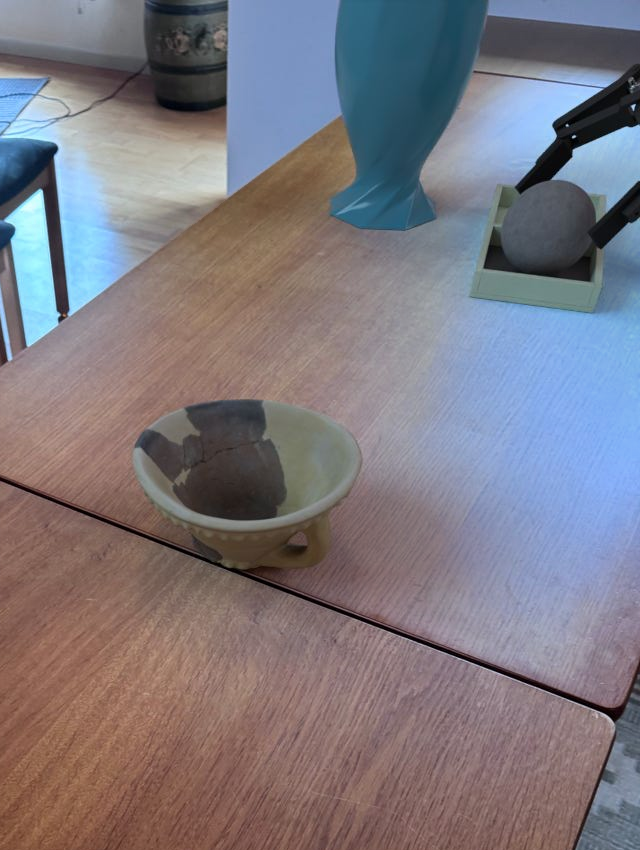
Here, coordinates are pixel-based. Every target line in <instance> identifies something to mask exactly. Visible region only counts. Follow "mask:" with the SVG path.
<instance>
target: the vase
mask: <svg viewBox="0 0 640 850" xmlns="http://www.w3.org/2000/svg"><path fill="white" fill-rule="evenodd" d="M489 7H490V0H339V1H338V7H337V15H336V21H335V22H336V23H335V32H334V33H335V35H334V75H335V76H334V77H335V84H336V93H337V98H338V103H339V107H340V112H341V117H342V121H343V124H344V128H345V132H346V137H347V139H348V143H349V146H350V148H351V152H352V156H353V160H354V164H355V177H354V180H353V181H352V183H351V184H350V185H348V186H347V187H346V188H344V189H342V190H341V191H339V192H338V193H336V194H335V195H333V196H331V197H330V207H329V208H330V209H329V212H328V214H329V215H330V216H332V217H335V218H336V219H339V220H342V221H344V222H345V223H348V224H350V225H352V226H354V227H356V228H358V229H364V230H365V229H368V230H369V229H372V230H395V231H407V230H409V229H411V228H415V227H417V226H420V225H423V224H425V223H428V222H430V221H434V220H437V215H436V206H435V203H436V202H435V201H434V199H432V198H431V197H430V196H429V195H428V194H427V193H425V191H424V188H423V185H422V183H421V180H420V177H421V173H422V170H423V168H424V166H425V163H426V162H427V160H428V159H429V156H430V155H431V153H432V152H433V151H434V150H435V148H436V146H437V145H438V143H439V141H440V140H441V139H442V137H443V136H444V134H445V132H446V131H447V129H448V127H449V126H450V124H451V122H452V120H453V118H454V117H455V115H456V113H457V111H458V109H459V107H460V105H461V103H462V100H463V98H464V97H465V94H466V92H467V90H468V87H469V84H470V82H471V79H472V77H473V74H474V71H475V68H476V65H477V62H478V60H479V55H480V51H481V48H482V44H483V40H484V36H485V32H486V26H487V22H488V21H487V20H488V16H489V15H488V14H489Z"/></svg>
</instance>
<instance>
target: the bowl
mask: <svg viewBox="0 0 640 850" xmlns="http://www.w3.org/2000/svg"><path fill="white" fill-rule="evenodd" d="M131 458H132V459H131V460H132V466H133V472H134V475H135V477H136V479H137V481H138V483H139V485H140V488H141V489H142V490H143V494H144V495H145V497H146V498H147V500H148V502H149V504H151V505H154V509H155V511H156V512H157V513H159V514H162V516H163V518H164V519H165V520H167V521H171V522H172V523H173V525H174V526H175V527H182V528H184V530H186V531H188V532H189V533H190V534H191V538H192V545H193V547H194V548H195V549H196V550H197V552H198V553H200V555H202V556H203V557H205V558H206V559H207V560H209V561H211V563H216V564H221V566H223V567H226V568H228V569H233V568H234V569H238V570H250V569H257V568H259V567H268V568H269V567H270V568H271V567H273V568H278V569H285V570H304V569H310V568H313V567H315V566H317V565H318V564H320V563H321V562H322V561H324V560H325V559H326V558H327V555H328V553H329V551H330V548H331V544H332V530H331V522H330V516H329V514H330V513H331V512H332V510H334V509H335V508H336V507H339V506H341V504H342V501H343V500H344V499H346V498H347V497H349V495H350V492H351V490H352V489H353V487H354V486H355V484H356V483H357V482H356V481H357V480H358V477H359V475H360V472H361V469H362V465H363V463H364V461H363V453H362V450H361V447H360V444H359V442H358V440H357V438H356V437H355V435H354V434H353V433H352V432H351V431H350V429H348V428H347V427H345V426H344V425H342V423H339V422H337V421H336V420H334V419H333V418H332V417H329V416H327V415H325V414H323V413H321V412H319V411H316V410H313V409H310V408H307V407H304V406H299V405H295V404H291V403H286V402H283V401H278V400H270V399H269V400H268V399H250V398H240V399H239V398H238V399H237V398H236V399H234V398H233V399H220V400H219V399H218V400H211V401H204V402H199V403H195V404H191V405H187V406H184V407H182V408H180V409H176V410H174V411H171V412H170V413H167V414H165V415H163V416H161V417H160V418H158V419H157V420H155V421H154V422H153V423H152V424H150V425H149V426H148V427H147V428H145V429H144V430H143V431H142V432H141V433H140V434H139V436H138V437H137V439H136V442H135V443H134V447H133V451H132V455H131ZM299 532H301V533H303V534H304V536H305V538H306V541H307V544H306V545H304V544H303V545H301V544H294V543H291V538H293V537H294V536H295V535H296V534H298V533H299Z"/></svg>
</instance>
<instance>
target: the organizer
mask: <svg viewBox="0 0 640 850" xmlns="http://www.w3.org/2000/svg"><path fill="white" fill-rule="evenodd" d="M515 186H516V184H515V185H514V184H504V183H503V184H502V183H496V186H495V191H494V193H493V194H494V195H493V199H492V202H491V205H490V211H489V214H488V218H487V222H486V227H485V230H484V234H483V237H482V242H481V246H480V250H479V254H478V257H477V261H476V265H475V270H474V274H473V277H472V282H471V286H470V290H469V295H468V296H469V298H476V299H484V300H489V301H491V300H492V301H498V302H508V303H514V304H520V305H529V306H534V307H535V306H536V307H543V308H551V309H559V310H566V311H574V312H581V313H589V314H593V313H594V312H595V309H596V306H597V304H598V301H599V298H600V295H601V292H602V289H603V277H604V258H605V247H604V248H603V249H602V250H601V249H599V248H598V247H596V245H595V243H594V242H593V240H592V241H591V243H590V245H589V247H588V249H587V250H586V252H585V253H584V254H583V256H582V257H581V258H580V259H579V260H578V261H577V262H576V263H575V264H573V265H572V266H570V267H569V268H567V269H566V270H564V271H562V272H559V273H557V274H553V275H549V276H537V275H529V274H526V273H523V272H521V271H520V270H518V269H517V268H515V267H514V266H513V265H512V264H511V263H510V261H509V260H508V259H507V257H506V255H505V253H504V251H503V248H502V243H501V229H502V224H503V220H504V217H505V215H506V213H507V211H508V209H509V208H510V206H511V205H512V203H513V202H514V201H515V200H516V199H517V197H518V196H519V195H520V194H519V193H518V191H517V190H516V188H515ZM586 193H587V194H588V196H589V197H590V199H591V200H592V202H593V205H594V208H595V212H596V223H597V222H598V221H599V220H600V219H601V218H602V217H603V216H604V215H605V214H606V213H607V194H601V193H591V192H586Z"/></svg>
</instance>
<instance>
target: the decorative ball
mask: <svg viewBox="0 0 640 850" xmlns="http://www.w3.org/2000/svg"><path fill="white" fill-rule="evenodd" d="M587 193H588V192H586V191H585V190H584V189H583V188H582V187H580V186H579V185H577V184H576V183H573V182H571V181H568V180H563V179H551V180H549V181H545V182H541V183H538V184H536V185H534V186H532V187H530V188H529V189H527V190H525V191H524V192H523V193H522V194H521V195H519V196H518V197H517V199H516V200H515V201H514V202H513V203H512V205H511V206H510V208H509V209H508V211H507V213H506V215H505V217H504V220H503V224H502V229H501V243H502V248H503V251H504V253H505V255H506V257H507V259H508V260H509V261H510V263H511V264H512V265H513V266H514V267H515V268H517V269H518V270H520V271H521V272H523V273H526V274H529V275H537V276H549V275H553V274H557V273H559V272H562V271H564V270H566V269H567V268H569V267H570V266H572V265H573V264H575V263H576V262H577V261H578V260H579V259H580V258H581V257H582V256H583V254H584V253H585V252H586V250H587V249H588V247H589V245H590V243H591V241H592V239H591V237H590V235H589V234H588V231H589V230H590V229H591V228H592V227H593V226H594V225H595V224H596V212H595V208H594V205H593V202H592V200H591V199H590V197H589V196H588V194H587Z"/></svg>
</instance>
